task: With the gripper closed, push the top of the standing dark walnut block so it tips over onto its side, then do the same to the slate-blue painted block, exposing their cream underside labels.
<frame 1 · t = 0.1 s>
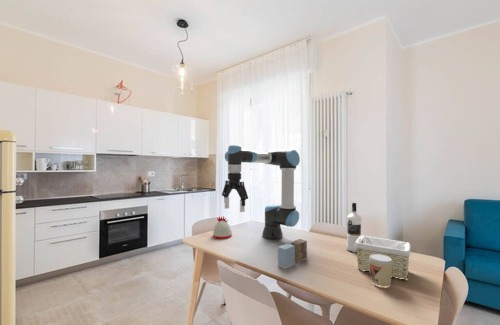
hand: (234, 210, 135), 28 cm above the table, fingers open, 13 cm apart
coffee cup: (380, 284, 108), on the table
slate block: (286, 264, 128), on the table
vodka: (353, 250, 151), on the table
beanie hat: (222, 236, 178), on the table
walnut block: (299, 258, 136), on the table
storage basket: (382, 271, 122), on the table
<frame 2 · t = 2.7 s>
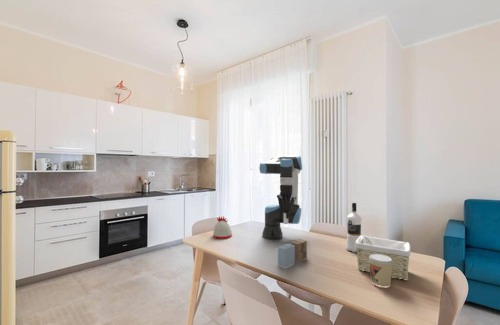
hand: (285, 223, 143), 18 cm above the table, fingers closed
nothing on the table moved.
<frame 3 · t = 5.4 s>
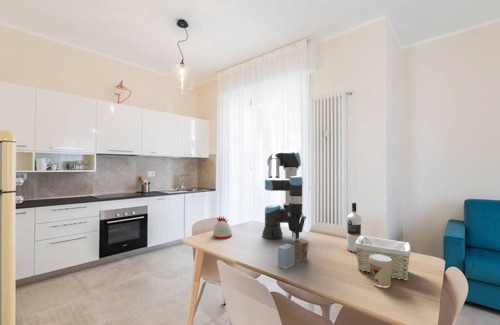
hand: (295, 243, 138), 8 cm above the table, fingers closed
walnut block: (299, 258, 136), on the table, tilted 7°
everything else where it was.
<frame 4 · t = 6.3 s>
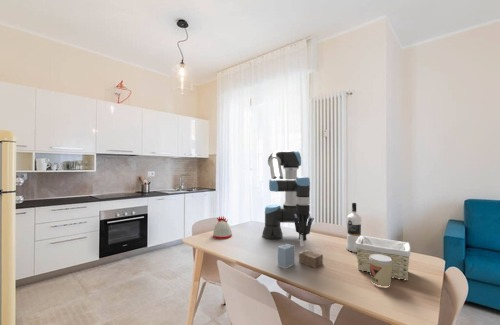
hand: (302, 245, 135), 8 cm above the table, fingers closed
walnut block: (302, 255, 135), point 2 cm above the table, tilted 90°
everything else where it was.
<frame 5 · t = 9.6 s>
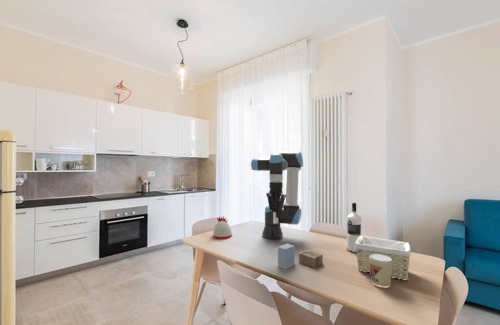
hand: (275, 223, 135), 21 cm above the table, fingers closed
nothing on the table moved.
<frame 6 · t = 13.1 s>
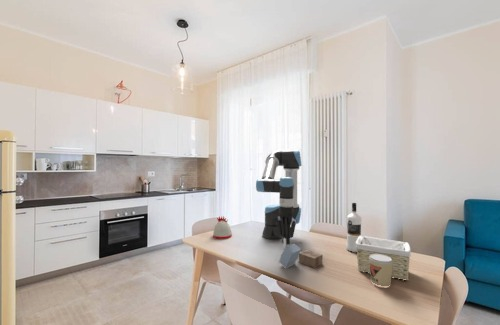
hand: (286, 249, 128), 8 cm above the table, fingers closed
slate block: (286, 262, 128), point 1 cm above the table, tilted 25°
everything else where it was.
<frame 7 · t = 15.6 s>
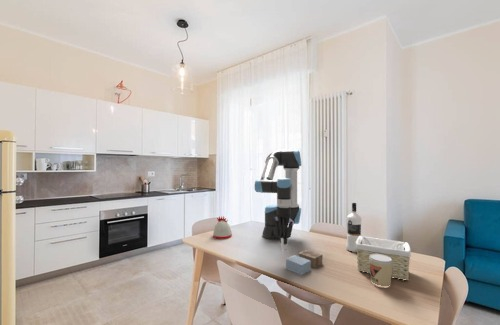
hand: (283, 249, 130), 7 cm above the table, fingers closed
slate block: (290, 261, 126), point 2 cm above the table, tilted 90°
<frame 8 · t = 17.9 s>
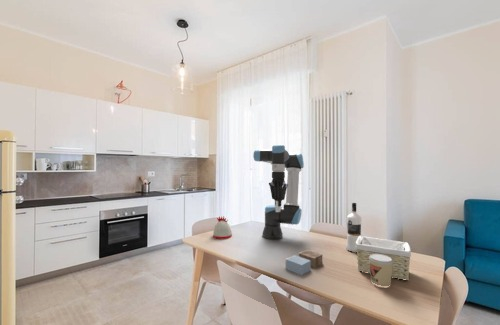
hand: (278, 211, 139), 26 cm above the table, fingers closed
at the end: walnut block tilted 90°; slate block tilted 90°; walnut block inside the target area (8.6 cm from its centre), point 2.4 cm above the table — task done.
